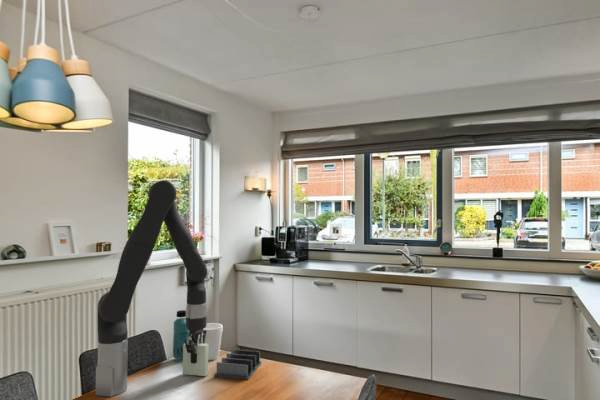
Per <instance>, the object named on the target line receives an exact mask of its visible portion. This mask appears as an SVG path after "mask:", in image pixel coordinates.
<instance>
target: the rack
mask: <svg viewBox="0 0 600 400" xmlns="http://www.w3.org/2000/svg"><path fill="white" fill-rule="evenodd" d="M261 364H262V360H261V351H260V350H249V349H248V350H247V349H235V348H232V349H230V353H228V352H227V353H226V357H221V362H218V361H217V362H216V372H215V373H214V378H222V379H223V378H224V379H225V378H226V379H237V380H245V381H248V380H249V379H251V377H252V376H253V374H254V373H255V372H256V371H257V370H258V368H259V367H260V366H261Z"/></svg>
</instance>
